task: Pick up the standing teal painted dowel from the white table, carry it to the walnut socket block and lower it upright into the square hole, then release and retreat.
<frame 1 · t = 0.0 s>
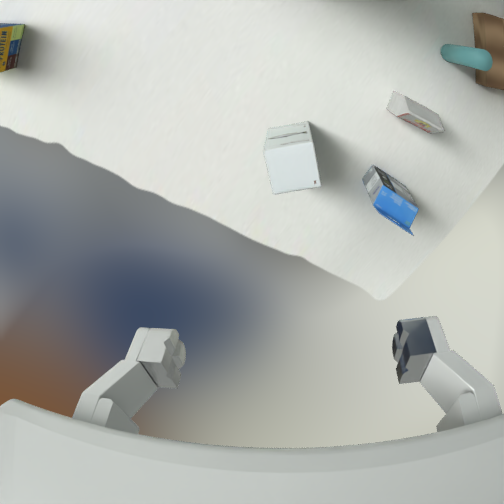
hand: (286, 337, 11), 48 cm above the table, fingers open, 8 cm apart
peg: (448, 53, 39), on the table
supplement box: (291, 142, 54), on the table
socket block: (502, 54, 36), on the table
white carton: (405, 107, 48), on the table
protein box: (1, 43, 42), on the table
label tape box: (383, 183, 57), on the table
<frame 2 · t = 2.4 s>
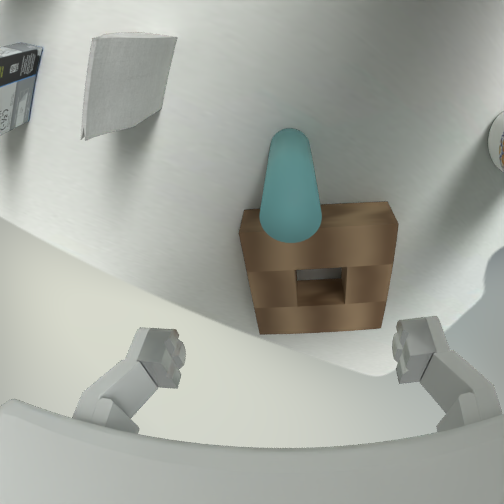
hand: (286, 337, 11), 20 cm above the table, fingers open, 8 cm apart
peg: (290, 146, 27), on the table
socket block: (318, 262, 34), on the table
white carton: (150, 69, 24), on the table
label tape box: (24, 81, 24), on the table
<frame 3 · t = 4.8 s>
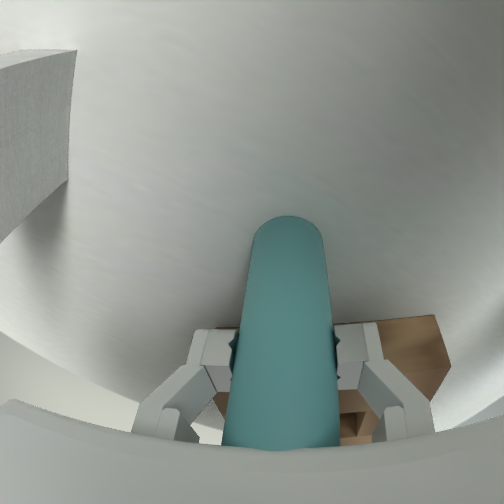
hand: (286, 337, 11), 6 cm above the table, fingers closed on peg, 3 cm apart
peg: (288, 246, 16), on the table, touching gripper
socket block: (325, 381, 23), on the table
white carton: (44, 112, 12), on the table
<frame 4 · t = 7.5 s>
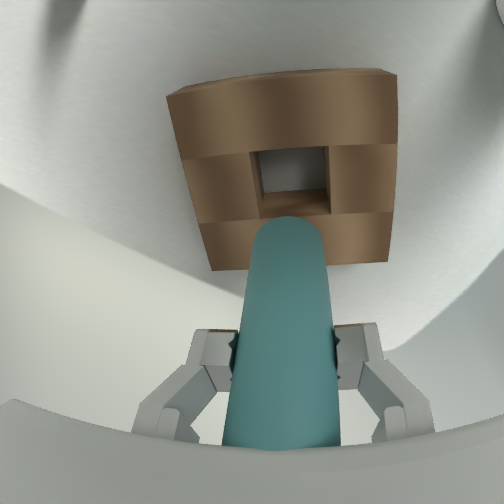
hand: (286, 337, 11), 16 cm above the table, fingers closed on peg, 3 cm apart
peg: (288, 246, 16), point 11 cm above the table, touching gripper
socket block: (292, 161, 24), on the table
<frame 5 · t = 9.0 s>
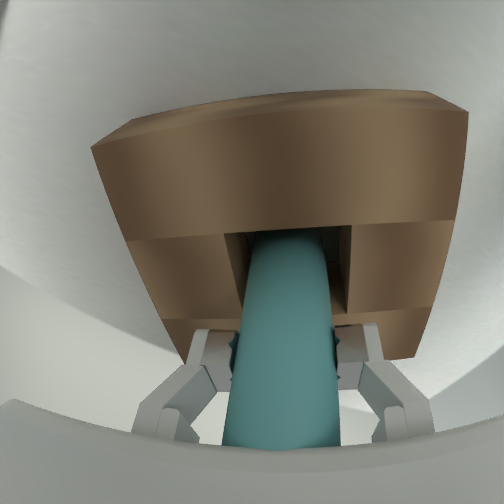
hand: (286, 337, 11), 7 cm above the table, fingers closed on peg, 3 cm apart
peg: (288, 246, 16), point 2 cm above the table, touching gripper
socket block: (291, 227, 17), on the table
when the fingers open (7 cm above the table, at t = 10.1 s): peg stays where it is, resting in socket block.
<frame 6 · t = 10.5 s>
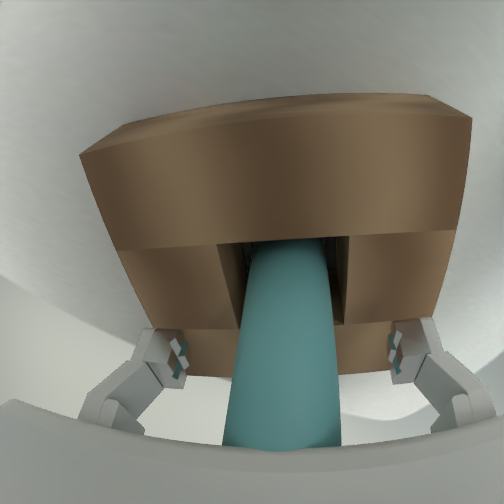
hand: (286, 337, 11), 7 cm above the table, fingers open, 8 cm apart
peg: (288, 234, 17), resting in socket block
socket block: (288, 235, 17), on the table
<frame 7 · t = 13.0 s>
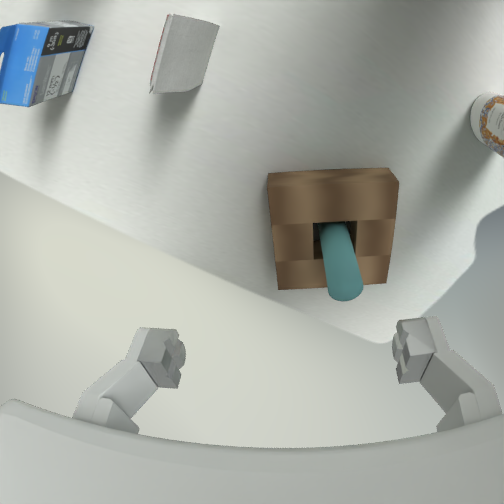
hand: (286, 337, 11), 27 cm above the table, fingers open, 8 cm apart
peg: (331, 222, 39), resting in socket block
socket block: (330, 222, 39), on the table
white carton: (194, 51, 28), on the table
bath foam: (489, 117, 28), on the table
label tape box: (71, 55, 28), on the table
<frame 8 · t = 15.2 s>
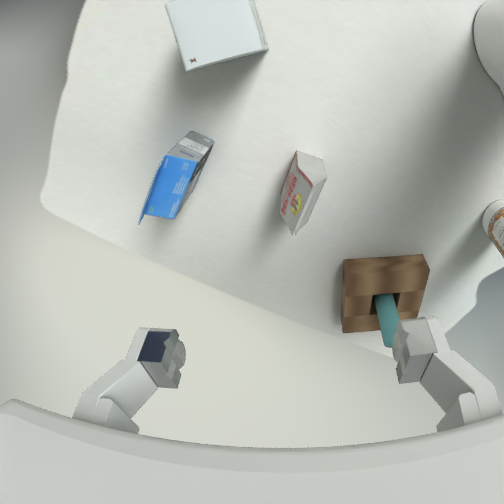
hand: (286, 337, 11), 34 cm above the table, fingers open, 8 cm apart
peg: (380, 287, 54), resting in socket block
supplement box: (234, 30, 32), on the table
socket block: (380, 288, 54), on the table
white carton: (301, 175, 44), on the table
bath foam: (495, 215, 43), on the table
label tape box: (191, 160, 44), on the table
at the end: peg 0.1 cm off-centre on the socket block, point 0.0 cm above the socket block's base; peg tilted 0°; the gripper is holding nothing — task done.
